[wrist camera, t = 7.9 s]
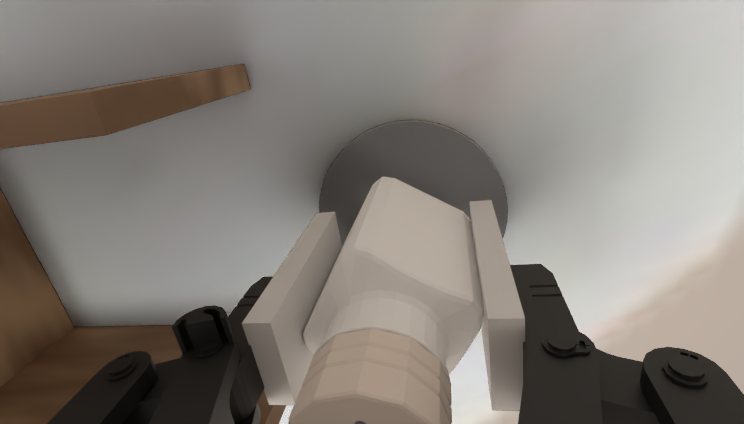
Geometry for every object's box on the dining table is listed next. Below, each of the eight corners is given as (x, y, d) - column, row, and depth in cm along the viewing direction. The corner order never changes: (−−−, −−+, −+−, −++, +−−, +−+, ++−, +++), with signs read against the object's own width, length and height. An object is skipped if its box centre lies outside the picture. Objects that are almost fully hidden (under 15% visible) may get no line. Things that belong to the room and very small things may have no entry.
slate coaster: (306, 131, 17) (301, 134, 17) (503, 108, 16) (505, 111, 15) (339, 289, 20) (337, 297, 20) (507, 283, 19) (509, 291, 18)
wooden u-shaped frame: (-59, 112, 20) (-348, 160, 12) (243, 63, 16) (89, 91, 9) (67, 340, 25) (-83, 466, 18) (314, 337, 22) (250, 490, 15)
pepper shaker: (476, 212, 15) (520, 440, 7) (427, 288, 17) (413, 547, 9) (381, 165, 15) (304, 341, 7) (341, 247, 17) (239, 469, 8)
